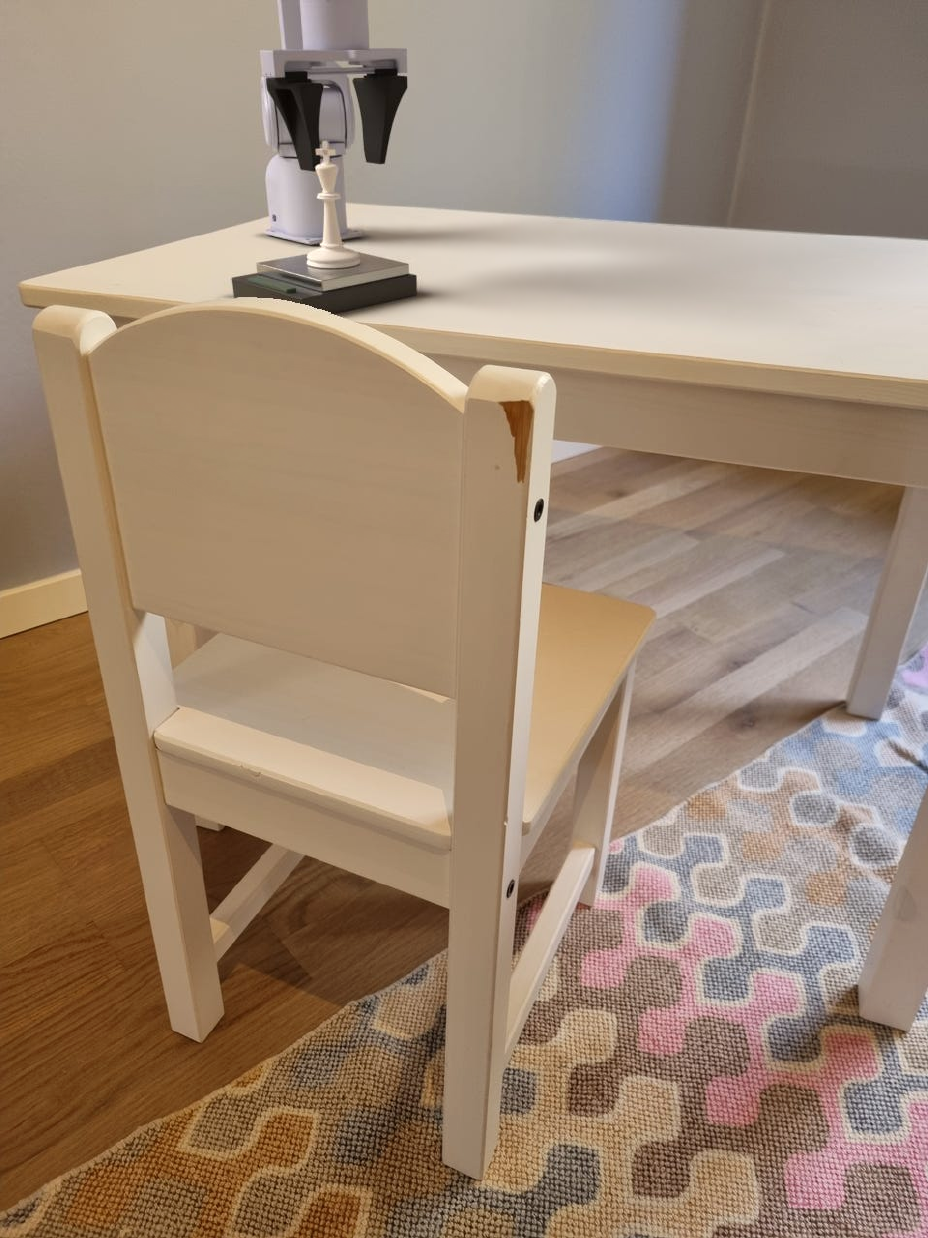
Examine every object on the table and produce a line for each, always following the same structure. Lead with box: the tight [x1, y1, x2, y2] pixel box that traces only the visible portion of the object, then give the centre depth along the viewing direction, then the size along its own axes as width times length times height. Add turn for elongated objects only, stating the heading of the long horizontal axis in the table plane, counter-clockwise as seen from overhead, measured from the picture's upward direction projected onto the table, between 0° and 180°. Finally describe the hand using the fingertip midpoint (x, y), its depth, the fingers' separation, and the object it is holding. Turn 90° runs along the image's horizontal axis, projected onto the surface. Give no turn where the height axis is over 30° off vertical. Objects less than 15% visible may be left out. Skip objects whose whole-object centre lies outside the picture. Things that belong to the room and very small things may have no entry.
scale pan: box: [255, 251, 410, 292], centre depth 85 cm, size 10×10×1 cm
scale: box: [230, 272, 418, 314], centre depth 85 cm, size 11×13×2 cm
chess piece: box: [307, 141, 361, 268], centre depth 82 cm, size 5×5×10 cm
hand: (343, 166), depth 85 cm, fingers open, 7 cm apart
